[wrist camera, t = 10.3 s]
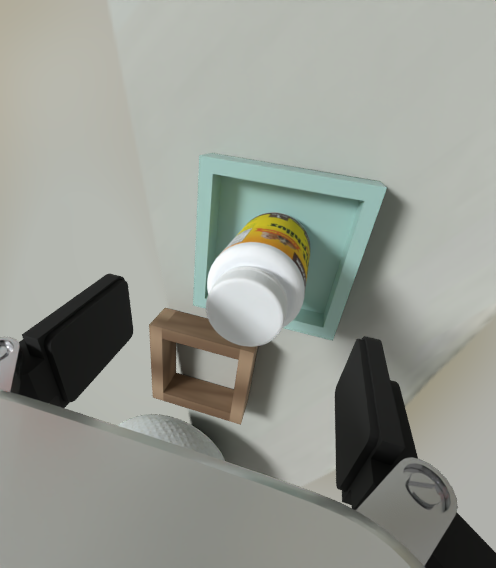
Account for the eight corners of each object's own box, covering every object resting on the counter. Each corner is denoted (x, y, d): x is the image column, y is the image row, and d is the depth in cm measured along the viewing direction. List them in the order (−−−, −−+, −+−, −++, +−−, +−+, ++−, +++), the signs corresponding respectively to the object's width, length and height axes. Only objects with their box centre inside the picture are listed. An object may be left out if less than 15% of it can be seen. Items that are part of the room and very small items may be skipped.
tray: (212, 153, 21) (199, 155, 19) (380, 181, 19) (386, 187, 17) (203, 291, 27) (193, 305, 25) (332, 322, 25) (332, 340, 23)
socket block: (165, 307, 29) (149, 324, 27) (260, 332, 28) (254, 352, 25) (166, 377, 34) (152, 397, 31) (247, 401, 33) (240, 424, 30)
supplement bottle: (325, 253, 22) (325, 333, 13) (269, 287, 25) (237, 374, 16) (282, 193, 21) (250, 238, 12) (227, 236, 23) (167, 300, 15)
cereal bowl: (235, 404, 33) (214, 464, 27) (245, 486, 41) (231, 548, 35) (110, 384, 37) (68, 433, 31) (140, 462, 45) (111, 514, 39)
